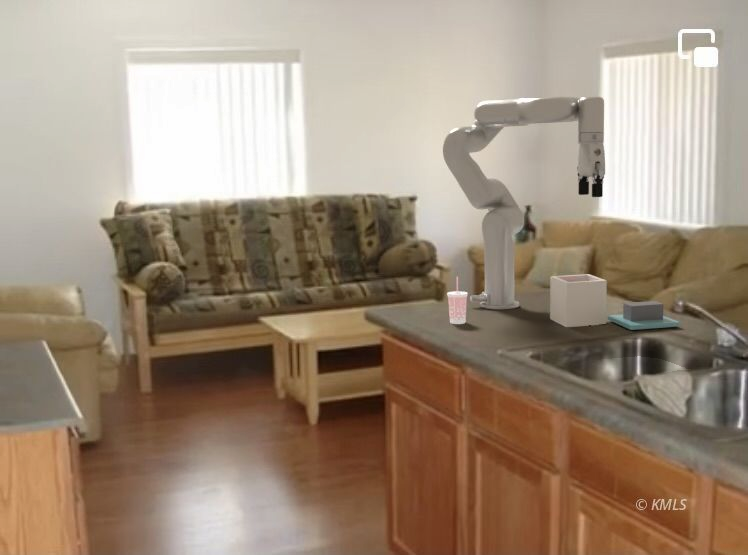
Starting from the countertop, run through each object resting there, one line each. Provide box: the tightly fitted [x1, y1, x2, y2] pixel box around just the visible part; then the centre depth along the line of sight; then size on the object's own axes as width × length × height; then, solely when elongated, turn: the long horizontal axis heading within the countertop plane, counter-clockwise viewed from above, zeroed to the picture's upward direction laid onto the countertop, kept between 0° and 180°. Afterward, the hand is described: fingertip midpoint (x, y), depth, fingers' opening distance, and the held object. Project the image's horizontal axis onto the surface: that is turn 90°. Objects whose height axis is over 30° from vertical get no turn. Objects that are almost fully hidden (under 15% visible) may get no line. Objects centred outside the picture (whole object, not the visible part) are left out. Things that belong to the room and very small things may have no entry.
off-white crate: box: [549, 273, 608, 328], centre depth 296 cm, size 12×12×13 cm
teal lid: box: [607, 300, 681, 331], centre depth 290 cm, size 15×15×6 cm
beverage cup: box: [446, 275, 468, 325], centre depth 299 cm, size 6×6×14 cm
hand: (590, 195), depth 302 cm, fingers open, 9 cm apart
